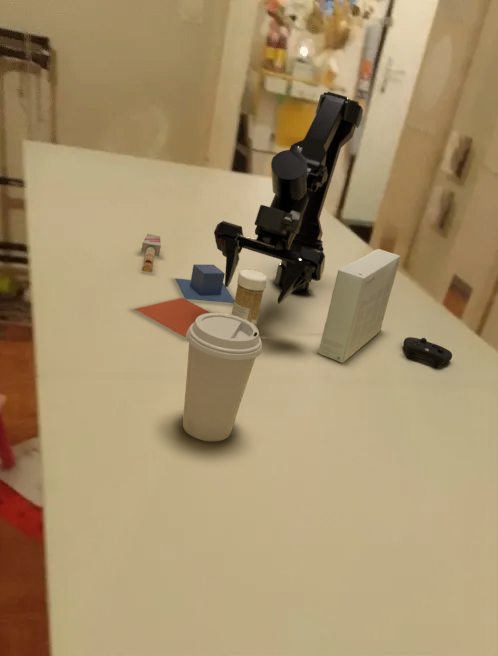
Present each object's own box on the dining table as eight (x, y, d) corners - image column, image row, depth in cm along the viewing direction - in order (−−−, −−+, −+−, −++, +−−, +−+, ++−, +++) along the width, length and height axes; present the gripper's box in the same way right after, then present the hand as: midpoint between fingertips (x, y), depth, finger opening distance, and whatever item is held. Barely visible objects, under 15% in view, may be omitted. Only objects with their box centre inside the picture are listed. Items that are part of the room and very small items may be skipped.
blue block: (209, 285, 135) (213, 264, 133) (220, 295, 132) (224, 273, 130) (189, 286, 132) (193, 264, 130) (200, 295, 129) (204, 273, 127)
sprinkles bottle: (255, 354, 113) (273, 279, 107) (232, 356, 111) (248, 279, 104) (242, 342, 116) (258, 268, 110) (219, 343, 114) (234, 268, 107)
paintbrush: (163, 230, 150) (157, 264, 133) (161, 242, 151) (155, 277, 135) (146, 227, 149) (137, 260, 132) (144, 238, 150) (136, 273, 134)
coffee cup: (213, 457, 85) (236, 351, 78) (155, 424, 88) (172, 319, 81) (255, 431, 92) (279, 332, 85) (201, 401, 96) (220, 304, 89)
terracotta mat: (181, 299, 126) (182, 297, 126) (230, 325, 122) (230, 323, 121) (134, 310, 117) (134, 308, 117) (184, 339, 112) (185, 336, 112)
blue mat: (222, 285, 138) (223, 283, 138) (235, 305, 130) (236, 303, 130) (174, 280, 134) (175, 278, 134) (185, 300, 126) (185, 298, 126)
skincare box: (355, 322, 137) (378, 247, 130) (380, 332, 136) (404, 256, 128) (314, 352, 120) (337, 267, 112) (342, 364, 118) (367, 278, 111)
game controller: (452, 355, 131) (457, 343, 126) (443, 379, 130) (448, 368, 124) (405, 339, 133) (408, 326, 127) (395, 362, 132) (398, 350, 126)
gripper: (228, 170, 109) (192, 252, 104) (339, 203, 107) (306, 288, 102) (234, 211, 119) (201, 286, 115) (335, 241, 117) (305, 319, 113)
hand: (252, 294), depth 111 cm, fingers open, 9 cm apart
